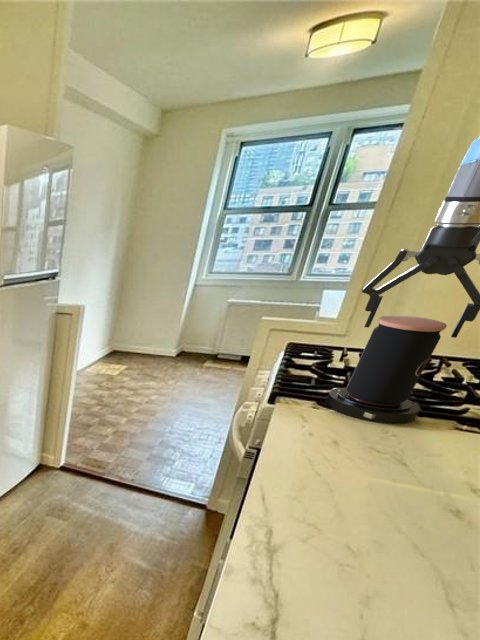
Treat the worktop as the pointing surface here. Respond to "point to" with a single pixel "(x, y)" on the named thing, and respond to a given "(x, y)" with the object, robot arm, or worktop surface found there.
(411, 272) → the robot arm
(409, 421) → the hot plate
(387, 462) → the worktop surface
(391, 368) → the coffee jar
